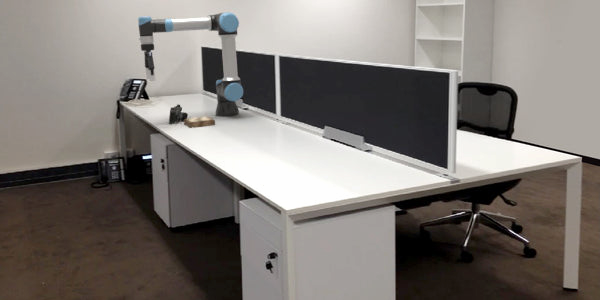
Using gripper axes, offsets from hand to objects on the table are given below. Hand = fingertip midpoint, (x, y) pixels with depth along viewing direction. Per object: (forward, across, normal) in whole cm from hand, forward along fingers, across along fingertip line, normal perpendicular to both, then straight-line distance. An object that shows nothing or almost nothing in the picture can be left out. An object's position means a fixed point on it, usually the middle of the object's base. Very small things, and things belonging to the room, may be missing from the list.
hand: (150, 79), depth 354 cm
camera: (+28, -7, +16) cm, 33 cm away
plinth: (+28, +12, +24) cm, 39 cm away
